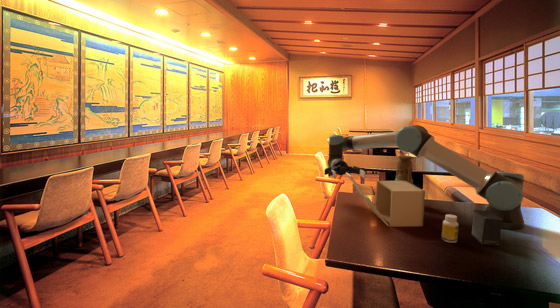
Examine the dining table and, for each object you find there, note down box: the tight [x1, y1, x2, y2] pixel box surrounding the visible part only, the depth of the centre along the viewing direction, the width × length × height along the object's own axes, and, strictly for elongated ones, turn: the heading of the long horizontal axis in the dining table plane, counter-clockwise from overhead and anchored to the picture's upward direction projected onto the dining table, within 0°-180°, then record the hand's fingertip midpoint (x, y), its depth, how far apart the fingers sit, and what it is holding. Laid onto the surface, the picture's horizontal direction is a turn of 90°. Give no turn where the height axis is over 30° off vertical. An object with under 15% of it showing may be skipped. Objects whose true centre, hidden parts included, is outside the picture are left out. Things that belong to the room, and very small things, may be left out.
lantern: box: [394, 151, 414, 184], centre depth 172 cm, size 15×10×30 cm
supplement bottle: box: [441, 213, 460, 244], centre depth 123 cm, size 5×5×10 cm
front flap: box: [345, 172, 390, 227], centre depth 144 cm, size 1×20×26 cm
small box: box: [470, 209, 502, 247], centre depth 123 cm, size 11×6×10 cm, turn 169°
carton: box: [375, 180, 426, 228], centre depth 145 cm, size 14×20×16 cm
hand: (349, 175), depth 144 cm, fingers open, 13 cm apart
